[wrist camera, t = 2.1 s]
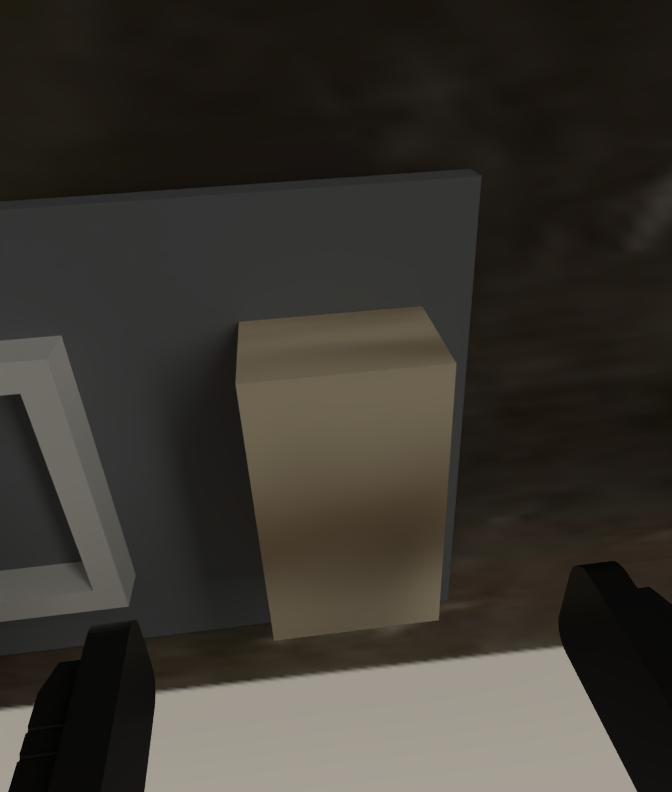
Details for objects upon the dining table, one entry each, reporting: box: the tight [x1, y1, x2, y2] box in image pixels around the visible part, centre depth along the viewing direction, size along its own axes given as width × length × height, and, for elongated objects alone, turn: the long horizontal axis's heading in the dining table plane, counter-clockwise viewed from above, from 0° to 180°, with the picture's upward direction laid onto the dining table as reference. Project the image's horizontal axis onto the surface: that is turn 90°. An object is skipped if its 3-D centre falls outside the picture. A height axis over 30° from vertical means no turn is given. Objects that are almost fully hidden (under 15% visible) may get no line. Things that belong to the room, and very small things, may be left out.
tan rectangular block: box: [235, 306, 456, 641], centre depth 16 cm, size 8×4×3 cm, turn 3°
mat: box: [0, 169, 481, 656], centre depth 17 cm, size 22×14×1 cm, turn 93°
